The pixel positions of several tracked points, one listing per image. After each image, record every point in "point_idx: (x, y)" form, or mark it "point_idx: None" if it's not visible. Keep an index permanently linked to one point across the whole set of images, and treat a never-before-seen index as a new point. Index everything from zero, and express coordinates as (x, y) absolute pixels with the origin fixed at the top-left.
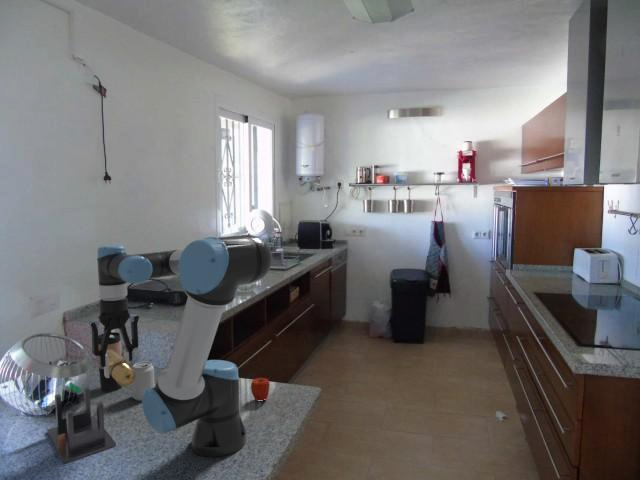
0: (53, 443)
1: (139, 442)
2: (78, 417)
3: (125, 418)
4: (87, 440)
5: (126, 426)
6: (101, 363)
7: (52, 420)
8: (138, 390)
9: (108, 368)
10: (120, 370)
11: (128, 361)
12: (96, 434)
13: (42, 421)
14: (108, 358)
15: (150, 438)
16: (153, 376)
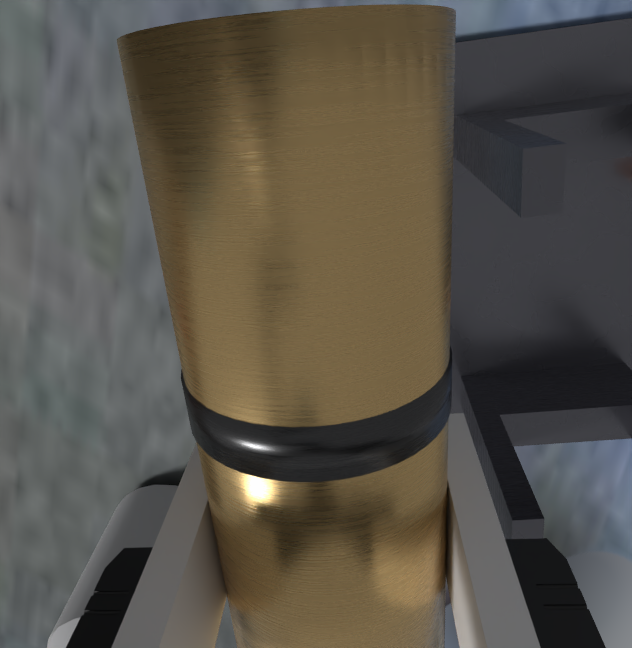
0: None
1: (277, 5)
2: (539, 402)
3: None
4: (572, 104)
5: None
6: (575, 590)
7: (587, 522)
8: None
9: (458, 494)
10: (377, 92)
11: (168, 529)
12: (520, 114)
13: (624, 535)
14: (485, 633)
15: (208, 17)
16: (76, 586)
